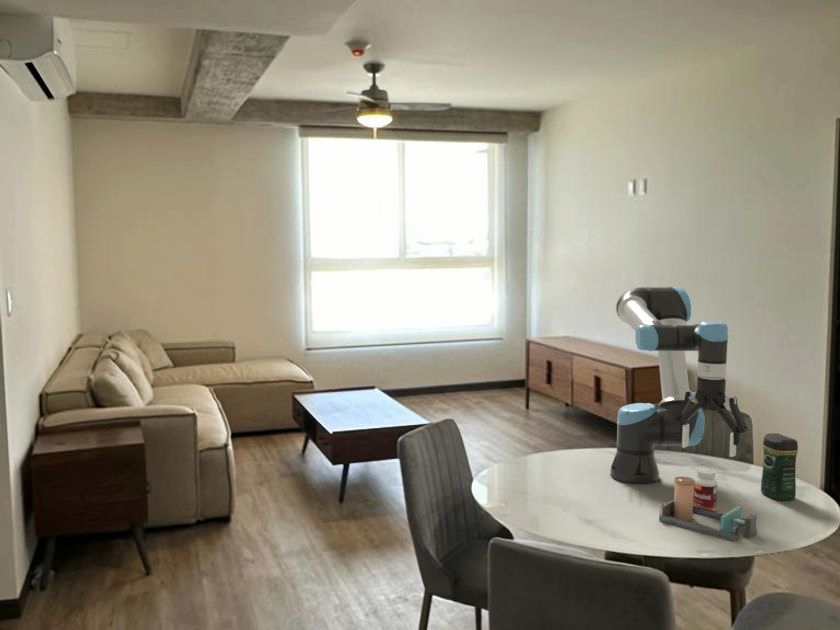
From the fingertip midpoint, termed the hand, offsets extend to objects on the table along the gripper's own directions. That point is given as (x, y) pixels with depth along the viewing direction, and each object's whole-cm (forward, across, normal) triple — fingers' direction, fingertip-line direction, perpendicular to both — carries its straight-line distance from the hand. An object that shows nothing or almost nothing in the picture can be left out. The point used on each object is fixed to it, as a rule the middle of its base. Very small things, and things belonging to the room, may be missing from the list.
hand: (708, 451), depth 220 cm
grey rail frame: (+17, +5, -12) cm, 21 cm away
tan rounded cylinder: (+17, -2, -11) cm, 20 cm away
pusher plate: (+17, +14, -12) cm, 25 cm away
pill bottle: (+17, 0, 0) cm, 17 cm away
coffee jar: (+17, +11, +25) cm, 32 cm away
